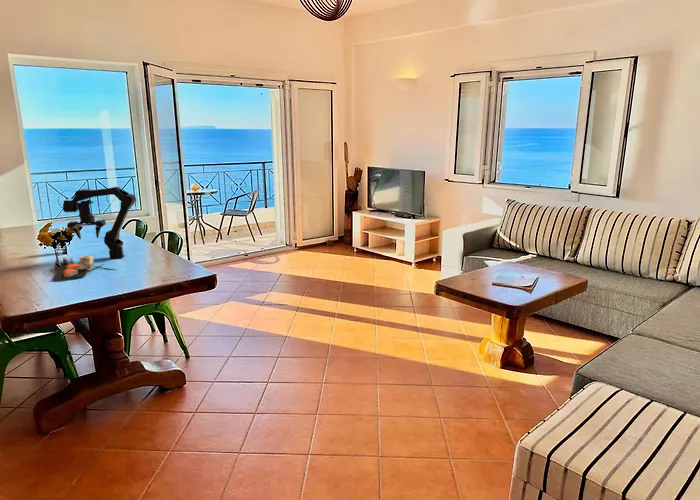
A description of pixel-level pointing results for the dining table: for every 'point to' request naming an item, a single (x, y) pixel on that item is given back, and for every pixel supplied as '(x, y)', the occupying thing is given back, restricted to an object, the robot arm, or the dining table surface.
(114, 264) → the dining table surface
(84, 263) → the birch block
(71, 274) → the sushi plate
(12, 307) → the dining table surface
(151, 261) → the dining table surface
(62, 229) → the beer glass
